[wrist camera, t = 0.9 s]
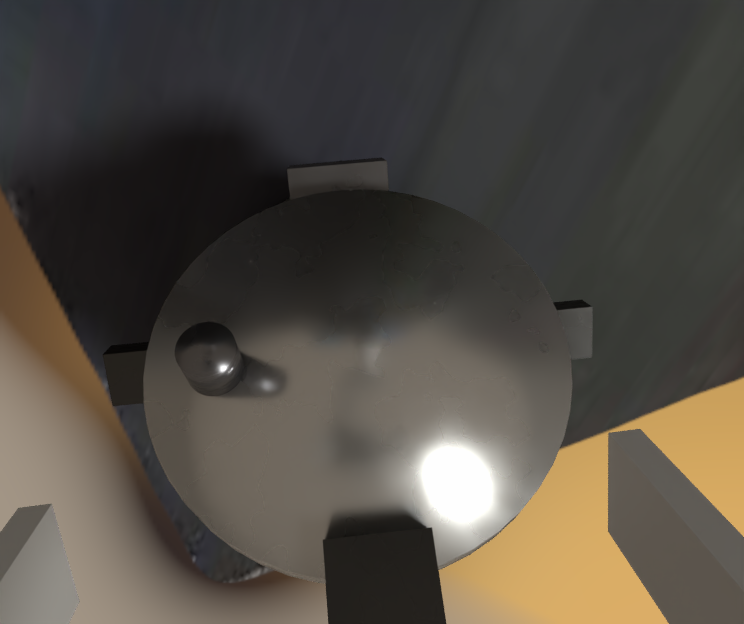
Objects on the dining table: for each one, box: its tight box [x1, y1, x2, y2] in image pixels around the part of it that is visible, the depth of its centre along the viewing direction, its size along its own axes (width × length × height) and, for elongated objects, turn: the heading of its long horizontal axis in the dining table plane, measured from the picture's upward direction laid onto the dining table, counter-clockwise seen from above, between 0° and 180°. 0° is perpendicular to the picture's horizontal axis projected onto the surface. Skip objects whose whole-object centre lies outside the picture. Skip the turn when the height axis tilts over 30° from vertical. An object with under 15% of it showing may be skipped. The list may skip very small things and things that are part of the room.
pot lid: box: [143, 189, 572, 624], centre depth 28 cm, size 22×18×3 cm
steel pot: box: [103, 158, 592, 406], centre depth 42 cm, size 19×27×12 cm
